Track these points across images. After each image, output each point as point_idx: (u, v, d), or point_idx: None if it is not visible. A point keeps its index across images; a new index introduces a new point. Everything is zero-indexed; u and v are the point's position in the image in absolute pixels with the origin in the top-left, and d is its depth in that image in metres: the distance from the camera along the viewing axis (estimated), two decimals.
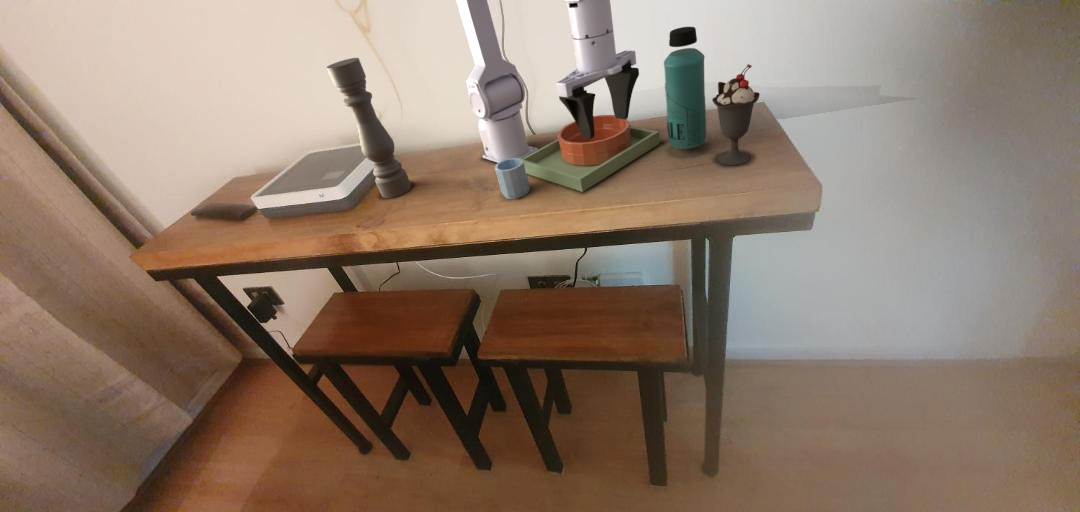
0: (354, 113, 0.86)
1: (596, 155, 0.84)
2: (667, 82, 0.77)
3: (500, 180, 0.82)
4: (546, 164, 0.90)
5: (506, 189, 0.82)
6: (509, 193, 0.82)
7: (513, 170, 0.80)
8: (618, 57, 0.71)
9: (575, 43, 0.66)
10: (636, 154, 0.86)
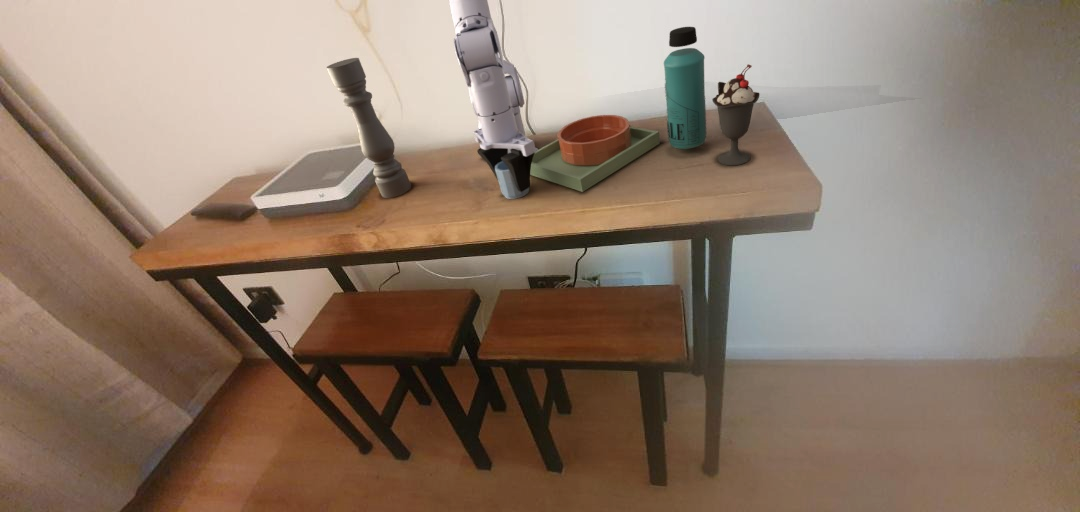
0: (354, 113, 0.86)
1: (596, 155, 0.84)
2: (667, 82, 0.77)
3: (500, 180, 0.82)
4: (546, 164, 0.90)
5: (506, 189, 0.82)
6: (509, 193, 0.82)
7: None
8: (516, 141, 0.76)
9: None
10: (636, 154, 0.86)
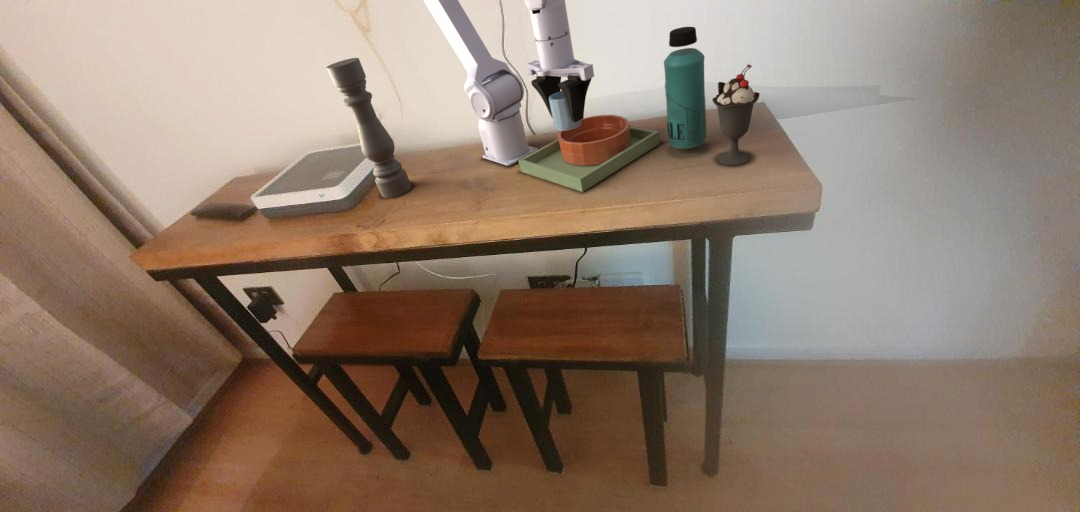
0: (354, 113, 0.86)
1: (596, 155, 0.84)
2: (667, 82, 0.77)
3: (554, 111, 0.82)
4: (546, 164, 0.90)
5: (560, 120, 0.82)
6: (563, 124, 0.83)
7: None
8: None
9: None
10: (636, 154, 0.86)
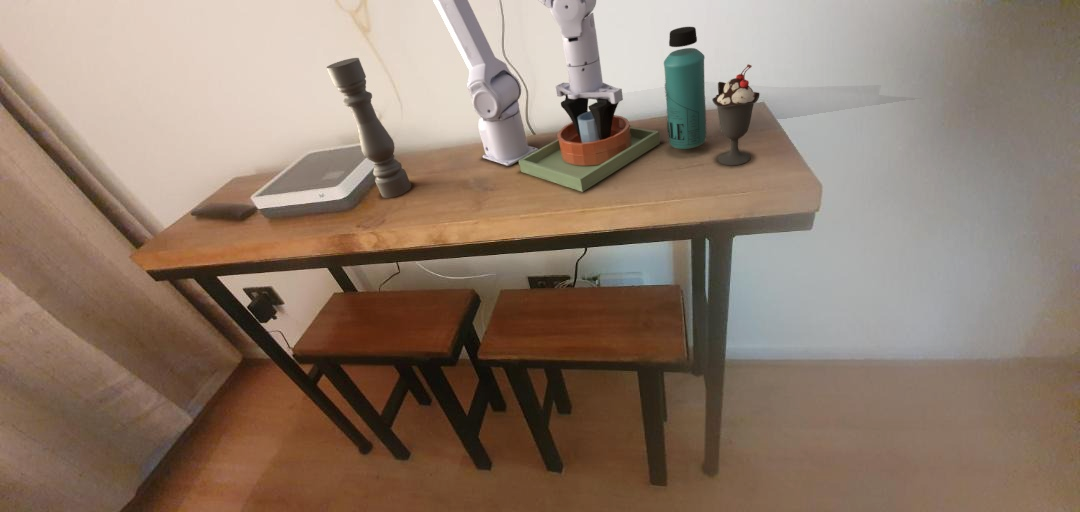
0: (354, 113, 0.86)
1: (596, 155, 0.84)
2: (667, 82, 0.77)
3: (583, 130, 0.87)
4: (546, 164, 0.90)
5: (588, 139, 0.87)
6: None
7: None
8: (604, 90, 0.81)
9: None
10: (636, 154, 0.86)
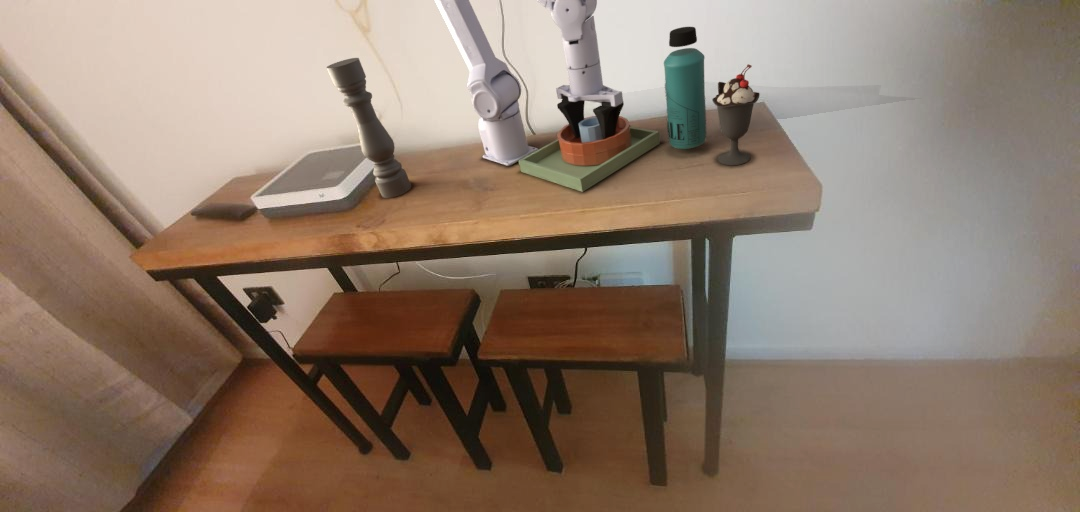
0: (354, 113, 0.86)
1: (596, 155, 0.84)
2: (667, 82, 0.77)
3: (584, 137, 0.87)
4: (546, 164, 0.90)
5: None
6: None
7: (598, 126, 0.86)
8: (604, 93, 0.81)
9: None
10: (636, 154, 0.86)
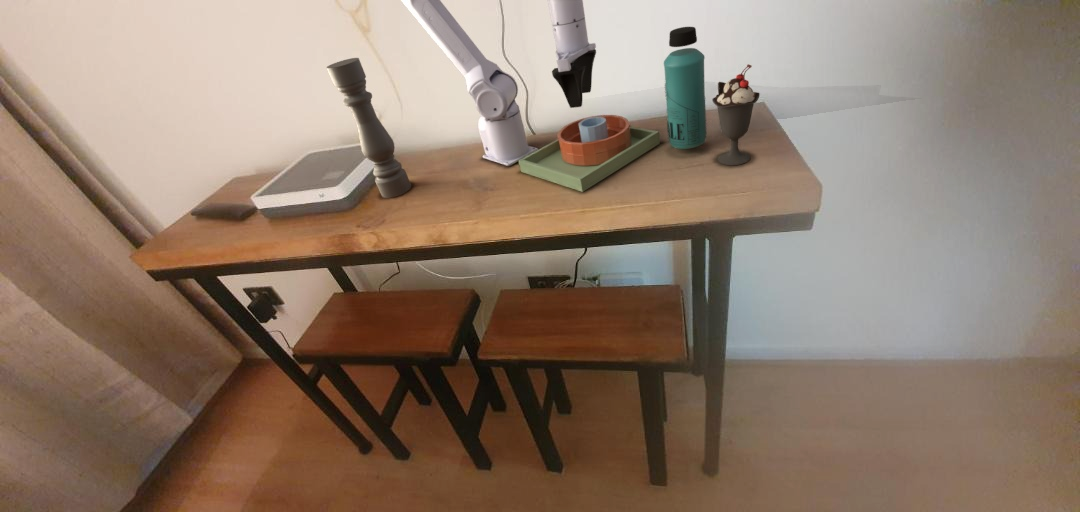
0: (354, 113, 0.86)
1: (596, 155, 0.84)
2: (667, 82, 0.77)
3: (584, 137, 0.87)
4: (546, 164, 0.90)
5: None
6: None
7: (598, 126, 0.86)
8: None
9: (560, 28, 0.81)
10: (636, 154, 0.86)
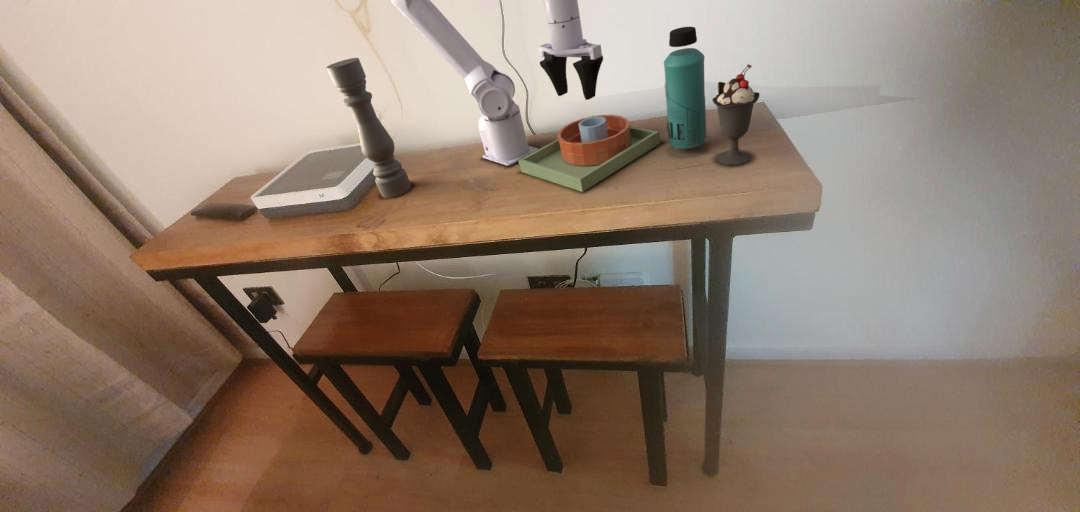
0: (354, 113, 0.86)
1: (596, 155, 0.84)
2: (667, 82, 0.77)
3: (584, 137, 0.87)
4: (546, 164, 0.90)
5: None
6: None
7: (598, 126, 0.86)
8: None
9: (571, 23, 0.82)
10: (636, 154, 0.86)
